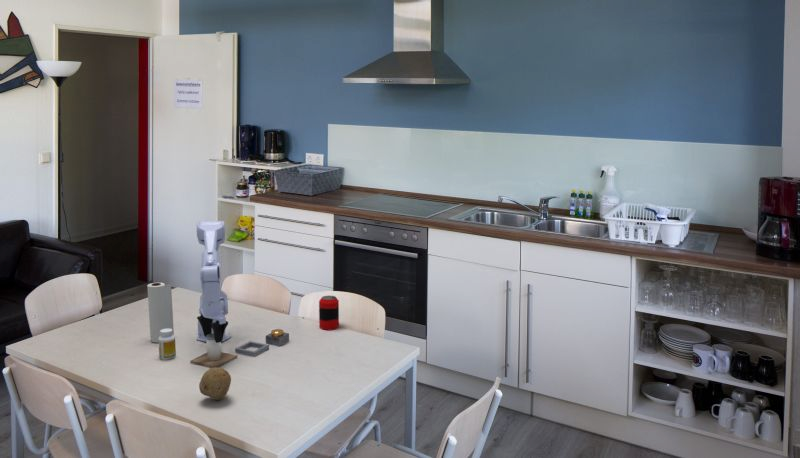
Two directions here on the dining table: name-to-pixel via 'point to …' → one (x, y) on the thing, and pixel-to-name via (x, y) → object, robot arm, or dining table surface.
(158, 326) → the paper towel roll
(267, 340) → the plunger base
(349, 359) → the dining table surface
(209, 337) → the cylinder
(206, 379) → the potato
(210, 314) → the robot arm
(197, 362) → the pad
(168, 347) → the supplement bottle
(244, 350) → the collar
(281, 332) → the plunger
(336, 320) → the soda can
